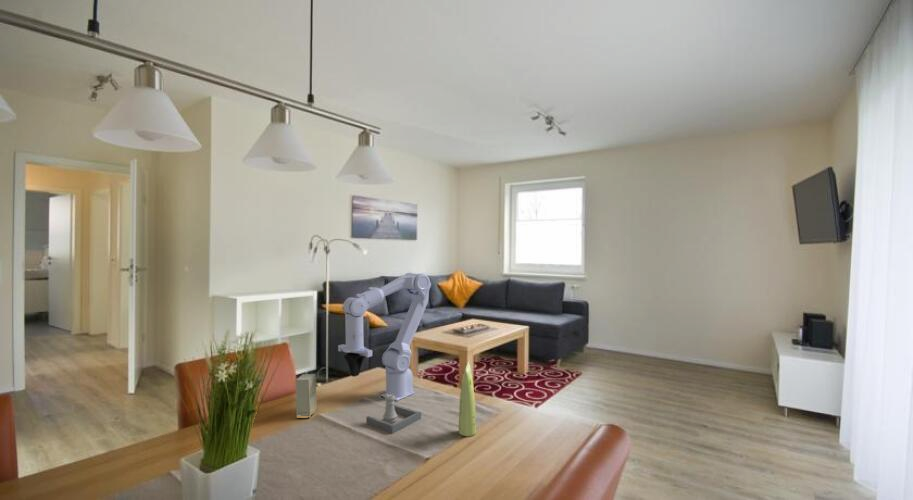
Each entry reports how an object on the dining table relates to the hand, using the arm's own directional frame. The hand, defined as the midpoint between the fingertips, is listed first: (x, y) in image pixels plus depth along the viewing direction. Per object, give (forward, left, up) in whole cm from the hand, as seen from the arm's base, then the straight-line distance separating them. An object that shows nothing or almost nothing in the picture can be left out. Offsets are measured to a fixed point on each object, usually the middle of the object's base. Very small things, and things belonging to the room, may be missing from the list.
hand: (355, 375), depth 138 cm
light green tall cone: (-5, +41, -11) cm, 43 cm away
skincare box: (+13, -8, -11) cm, 19 cm away
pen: (+1, +18, -10) cm, 21 cm away
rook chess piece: (+1, +17, -11) cm, 20 cm away
